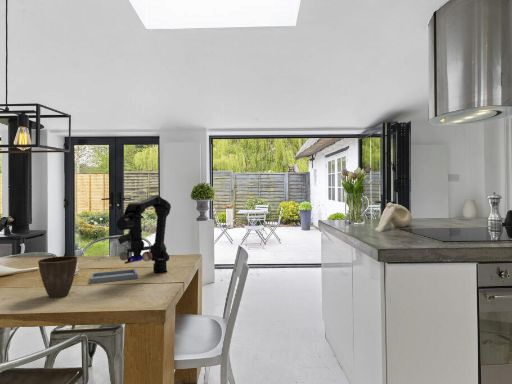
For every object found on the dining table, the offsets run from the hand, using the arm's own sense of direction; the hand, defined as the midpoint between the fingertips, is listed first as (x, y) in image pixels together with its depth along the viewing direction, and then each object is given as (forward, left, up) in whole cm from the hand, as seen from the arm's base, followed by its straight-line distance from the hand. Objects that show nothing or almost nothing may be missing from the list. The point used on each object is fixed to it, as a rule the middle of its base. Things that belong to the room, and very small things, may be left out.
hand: (136, 259), depth 168 cm
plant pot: (+33, +9, -12) cm, 36 cm away
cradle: (+10, -12, -11) cm, 19 cm away
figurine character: (0, 0, -2) cm, 2 cm away
